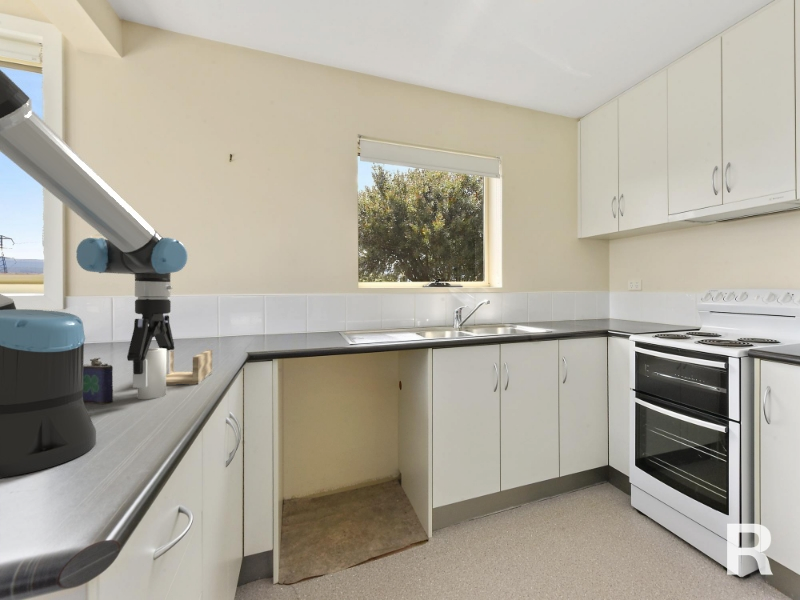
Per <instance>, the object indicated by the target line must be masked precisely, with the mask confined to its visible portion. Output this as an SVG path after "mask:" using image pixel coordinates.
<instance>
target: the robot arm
mask: <svg viewBox="0 0 800 600" xmlns="http://www.w3.org/2000/svg"><path fill="white" fill-rule="evenodd" d="M0 153H2V154H3V155H4V156H5V157H7V158H8V159H9V160H10V161H12V162H13V163H14V164H15V165H16V166H18V167H19V168H20V169H21V170H22V171H24V172H25V173H26V174H27V175H29V176H30V177H31V178H32V179H33V180H34V181H36V182H37V183H38V184H39V185H41V186H42V188H45V189H46V190H47V191H48V192H49V193H51V194H52V196H53V197H55V198H56V199H57V200H59V201H60V202H61V203H63V204H64V205H65V206H66V207H67V208H69V209H70V210H71V211H72V212H73V213H75V214H76V215H77V216H78V217H79V218H81V219H82V220H83V221H84V222H86V223H87V224H88V225H89V226H91V227H92V228H93V229H94V230H95V231H96V232H98V233H99V234H100V235H101V236H103V237H104V238H105V239H104V238H103V237H100V238H96V237H87V238H84V239H82V240H81V241H80V242H79V244H78V245H77V248H76V261H77V263H78V265H79V266H80V268H81V269H83V270H84V271H86V272H92V273H98V274H104V273H106V274H123V275H134V297H135V298H137V299H135V300H134V313H135V314H136V315H141V318H135V319H134V320H133V321H134V324H133V331H132V335H131V339H130V343H129V348H128V353H127V354H126V355H127V357H126V358H127V361H128V362H130V361H132V388H138V387H147V360H145V358H146V355H147V352H148V349H150V346H151V343H152V342H153V341H152V340H153V338H154V339H155V341H156V343H157V346H158V348H165V349H167V354H166V374H170V351H174V350H175V343H174V338H173V333H172V329H171V325H170V316H169V315H166V314H169V313H171V307H172V306H171V300H170V299H169V298H170V297H171V290H172V289H173V286H172V285H171V273H172V274H173V273H177V272H180V271H182V270H183V269H184V267H185V266H186V264H187V263H188V251H187V249H186V247H185V245H184V244H183V243H182V242H181V241H180V240H177V239H175V238H170V237H163V236H161V234H159V233H158V231H157V230H155V229H154V228H153V227H152V226H151V225H150V224H149V222H148V221H146V220H145V219H144V217H142V216H141V215H140V214H139V212H137V211H136V210H135V209H134V208H133V207H132V206H131V205H130V204H129V203H128V202H127V201H126V200H125V199H123V198H122V196H121V195H119V193H117V192H116V190H114V189H113V188H112V187H111V186H110V184H108V183H107V181H105V180H104V179H103V178H102V177H101V176H100V175H99V173H97V172H96V171H95V170H94V169H93V168H92V167H91V166H90V165H89V164H88V163H87V162H86V161H85V160H84V159H83V158H82V157H81V156H80V155H78V153H77V152H75V151H74V149H73V148H71V147H70V145H68V144H67V142H65V141H64V139H62V138H61V137H60V136H59V135H58V133H56V132H55V131H54V130H53V129H52V128H51V127H50V126H49V125H48V124H47V123H46V122H45V121H44V120H43V119H42V118H41V117H40V116H39V115H38V114H37V113H35V111H34V110H33V106H32V99H31V98H30V97H29V96H28V94H26V92H24V90H23V89H22V88H20V87H19V86H18V85H17V84H16V83H15V82H14V81H13V80H12V79H11V78H9V76H8V75H7V74H6V73H5V72H3V71H2V70H1V69H0ZM85 340H86V335H85V329H84V323H83V321H82V318H80V317H79V316H78V315H75V314H73V313H71V312H64V311H59V310H58V311H56V310H43V309H27V308H25V309H20V308H19V309H18V308H17V307H16V304H15V301H14V300H13V298H11V297H8V296H6V295H3V294H1V293H0V479H1V478H8V477H13V476H19V475H24V474H28V473H29V474H30V473H33V472H37V471H40V470H44V469H48V468H52V467H55V466H57V465H60V464H64V463H66V462H69V461H72V460H74V459H76V458H78V457H80V456H83V455H84V454H86V453H88V452H89V451H90V450H92V449H93V448H94V447H95V446H96V445H97V430H96V428H95V425H94V422H93V420H92V418H91V416H90V414H89V412H88V409H87V407H86V405H85V403H84V402H83V365H84V361H85V360H84V358H85V357H84V354H85V352H84V351H85V348H84V345H85Z"/></svg>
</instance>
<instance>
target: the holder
mask: <svg viewBox="0 0 800 600" xmlns="http://www.w3.org/2000/svg"><path fill="white" fill-rule="evenodd" d="M174 353H175V352H174V350H170V374H166V386H177V385H176V384H189V385H197V384H196V383H199V382H200V381H201V380H203V379H204V378H205V377H206V376H207V375H208V374H210V373H211V372H212V373H213V349H209V350H208V349H207V350H205V351H203V352H201V353H198V354H196V355H195V356H193V357H192V371H174V365H175V364H174V361H175V359H174V358H175V354H174ZM204 380H205V379H204ZM204 380H203V381H204ZM200 383H201V382H200ZM200 383H199V384H200Z"/></svg>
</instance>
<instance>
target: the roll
mask: <svg viewBox="0 0 800 600" xmlns="http://www.w3.org/2000/svg"><path fill="white" fill-rule="evenodd" d="M166 354H167V349H165V348H159V347H157V348H156V347H154V348H153V347H152V348H149V349H148V352H147V355H146V358H145V360H147V387H137V399H139V400H153V399H159V398H162V397H165V396H166V395H167V385H166Z"/></svg>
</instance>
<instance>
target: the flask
mask: <svg viewBox="0 0 800 600" xmlns="http://www.w3.org/2000/svg"><path fill="white" fill-rule="evenodd" d="M100 359H101V357H95V358H91V359H89V361H90V364H89V363H86V364H83V402H84V404H98V405H99V404H100V405H107V404H109V405H110V404H112V403H113V402H114V392H113V391H114V388H113V387H114V386H113V383H114V381H113V368H114V367H113V365H111V364H108V363H106V362H105V363H103V362H102V361H99V360H100Z"/></svg>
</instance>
